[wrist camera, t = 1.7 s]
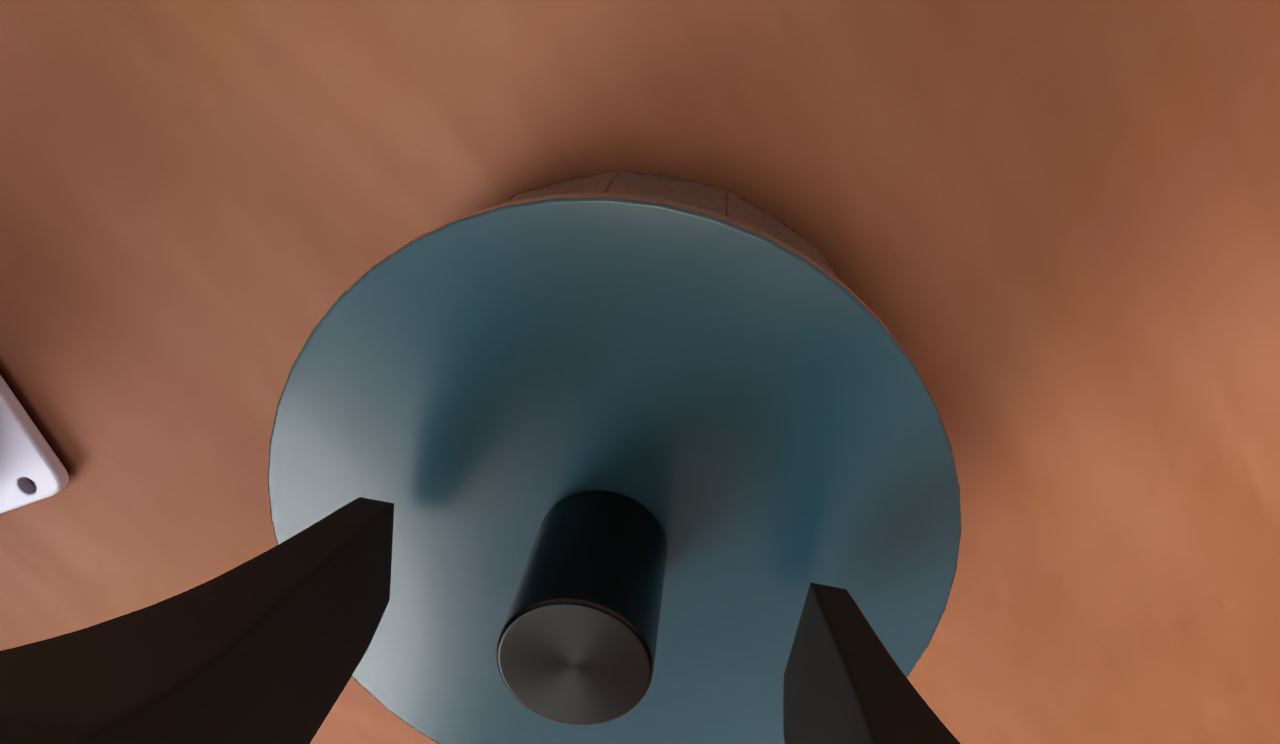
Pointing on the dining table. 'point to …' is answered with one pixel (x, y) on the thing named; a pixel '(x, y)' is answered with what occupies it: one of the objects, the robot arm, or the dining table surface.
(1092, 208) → the dining table surface
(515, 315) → the tin lid
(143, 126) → the dining table surface
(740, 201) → the tin
